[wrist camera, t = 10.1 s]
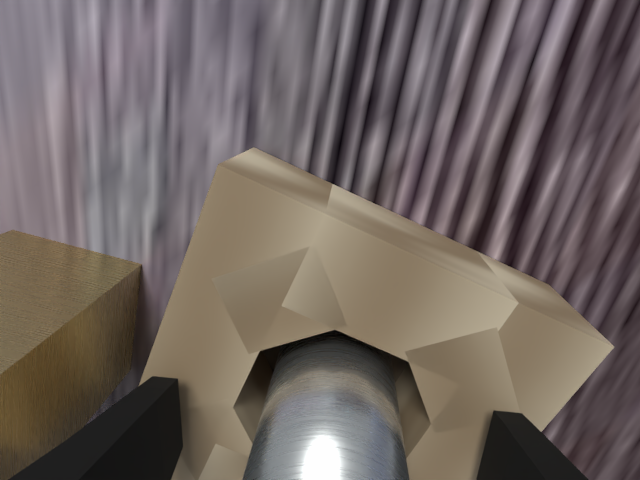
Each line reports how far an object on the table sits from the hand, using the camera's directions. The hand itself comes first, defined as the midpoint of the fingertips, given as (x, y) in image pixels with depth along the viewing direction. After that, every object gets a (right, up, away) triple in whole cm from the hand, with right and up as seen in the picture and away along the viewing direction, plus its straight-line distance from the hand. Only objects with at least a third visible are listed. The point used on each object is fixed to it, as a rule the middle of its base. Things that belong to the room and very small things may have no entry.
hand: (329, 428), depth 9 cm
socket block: (0, +1, +3) cm, 3 cm away
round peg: (0, +1, +3) cm, 3 cm away
